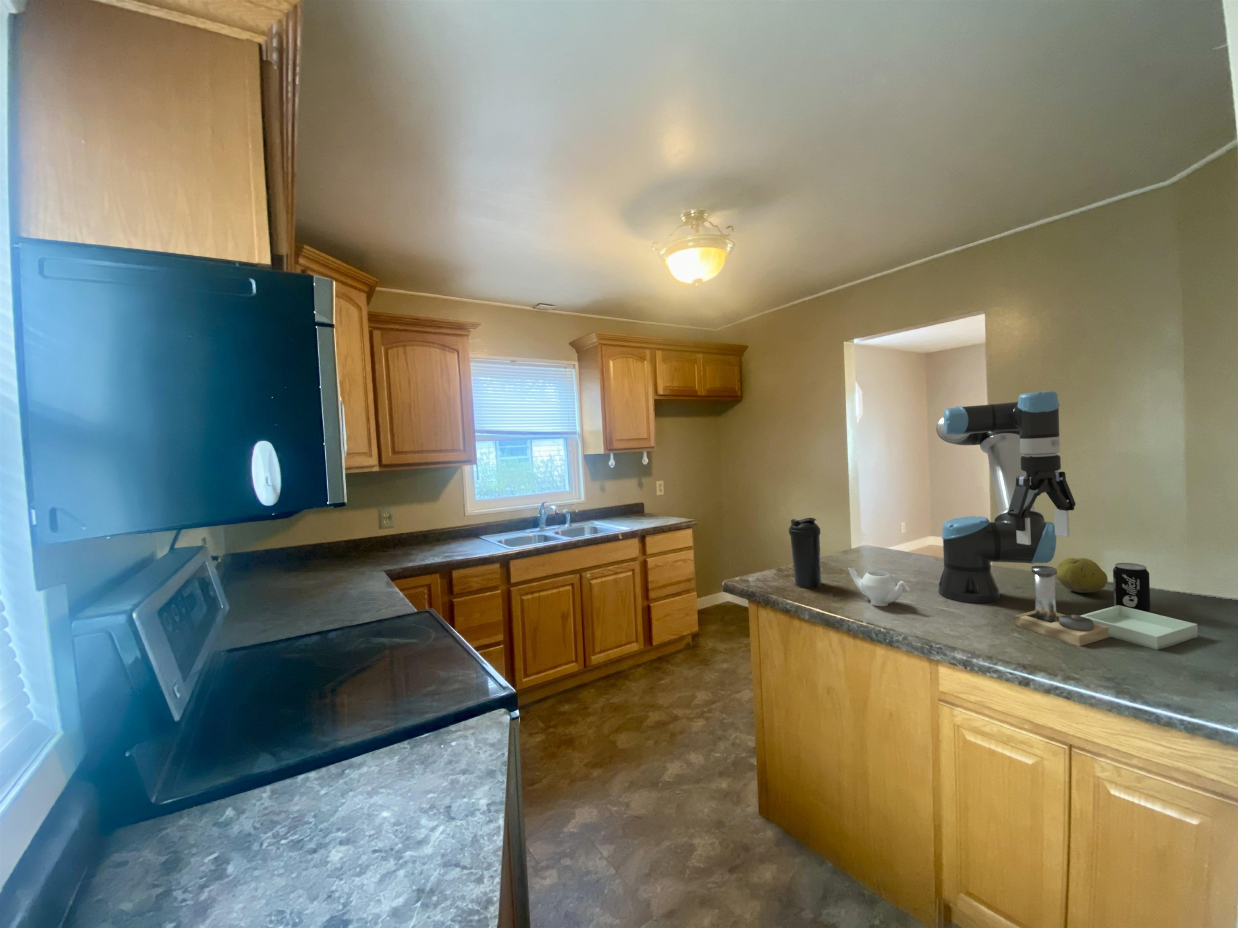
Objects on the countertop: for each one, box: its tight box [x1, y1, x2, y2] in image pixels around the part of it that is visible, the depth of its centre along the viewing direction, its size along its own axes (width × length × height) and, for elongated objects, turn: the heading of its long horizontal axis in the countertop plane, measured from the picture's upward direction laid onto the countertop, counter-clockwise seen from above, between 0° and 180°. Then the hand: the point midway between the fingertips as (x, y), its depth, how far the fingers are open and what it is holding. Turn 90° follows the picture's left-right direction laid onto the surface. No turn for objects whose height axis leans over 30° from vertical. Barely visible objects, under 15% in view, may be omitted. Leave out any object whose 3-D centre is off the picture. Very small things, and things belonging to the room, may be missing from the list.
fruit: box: [1055, 557, 1108, 594], centre depth 144 cm, size 11×12×10 cm
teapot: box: [847, 566, 912, 607], centre depth 149 cm, size 10×20×9 cm, turn 28°
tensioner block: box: [1014, 610, 1110, 647], centre depth 122 cm, size 14×10×5 cm
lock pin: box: [1031, 565, 1057, 623], centre depth 124 cm, size 5×5×15 cm
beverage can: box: [1112, 562, 1151, 613], centre depth 129 cm, size 7×7×12 cm
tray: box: [1079, 605, 1199, 651], centre depth 118 cm, size 14×14×3 cm
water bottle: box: [788, 517, 822, 589], centre depth 172 cm, size 10×10×23 cm
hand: (1043, 539), depth 123 cm, fingers open, 13 cm apart
